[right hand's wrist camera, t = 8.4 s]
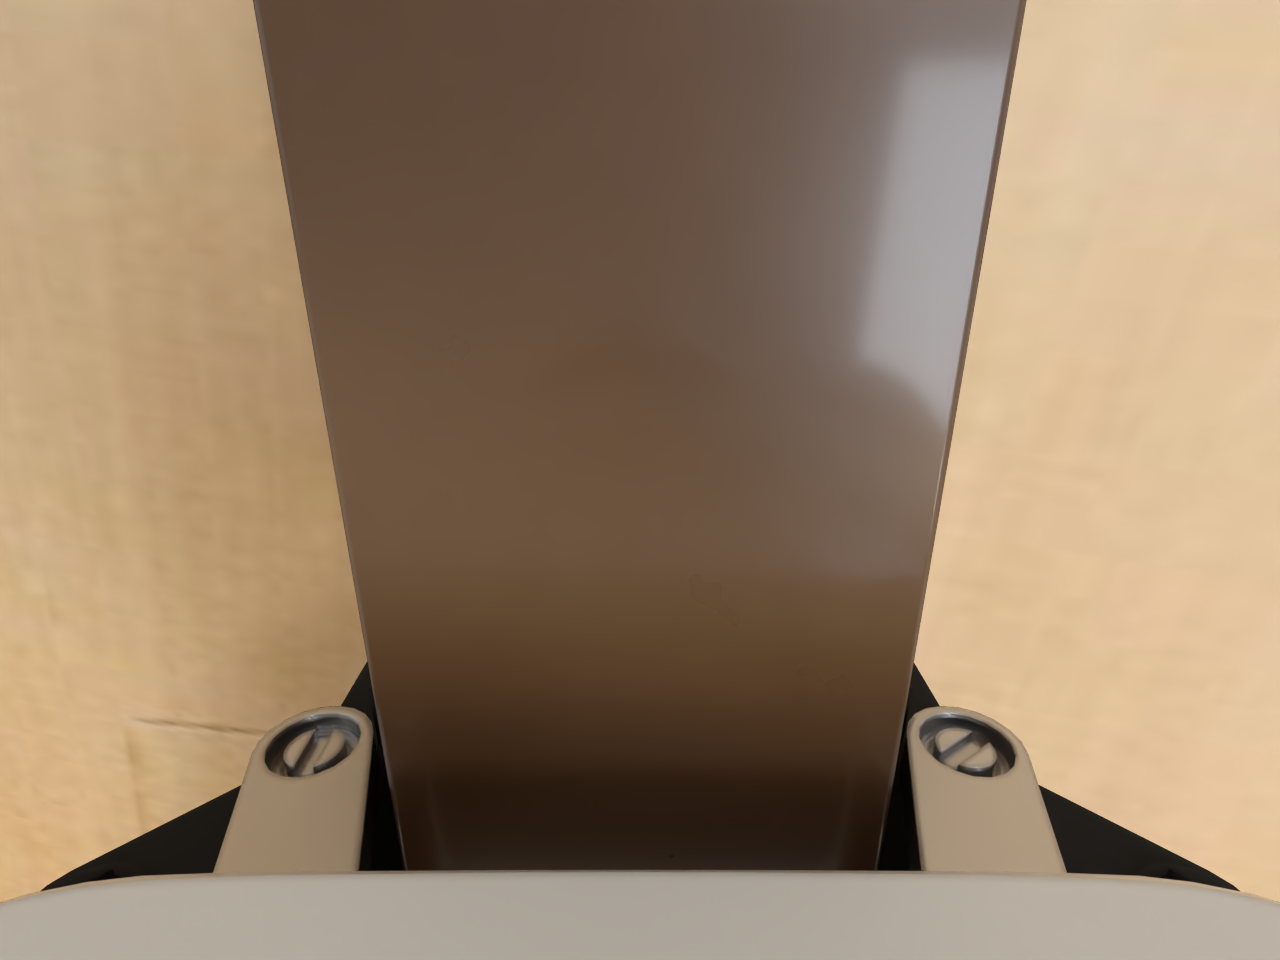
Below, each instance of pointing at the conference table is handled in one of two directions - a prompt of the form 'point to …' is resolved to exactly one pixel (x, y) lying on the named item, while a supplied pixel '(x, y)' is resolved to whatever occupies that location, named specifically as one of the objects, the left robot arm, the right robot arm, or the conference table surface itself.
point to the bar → (640, 400)
